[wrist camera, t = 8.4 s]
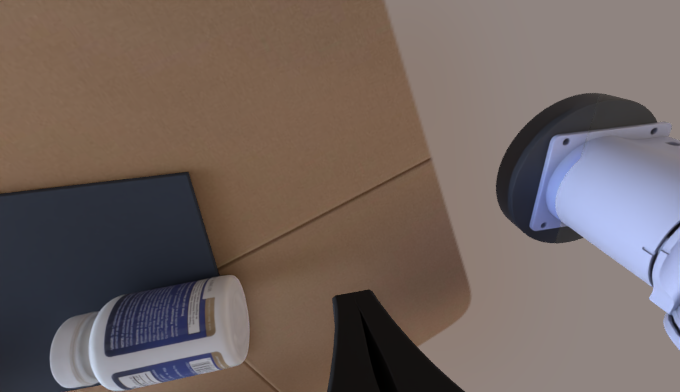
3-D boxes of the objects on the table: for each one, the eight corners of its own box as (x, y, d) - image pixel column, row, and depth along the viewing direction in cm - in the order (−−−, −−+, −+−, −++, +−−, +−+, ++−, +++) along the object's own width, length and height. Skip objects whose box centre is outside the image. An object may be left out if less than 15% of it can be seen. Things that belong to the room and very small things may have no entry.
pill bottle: (240, 263, 23) (92, 291, 22) (222, 290, 18) (27, 328, 17) (255, 337, 24) (111, 367, 23) (241, 385, 18) (52, 426, 18)
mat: (188, 171, 19) (186, 174, 19) (243, 355, 27) (242, 359, 27) (-224, 219, 17) (-235, 224, 17) (-37, 405, 25) (-41, 411, 24)
